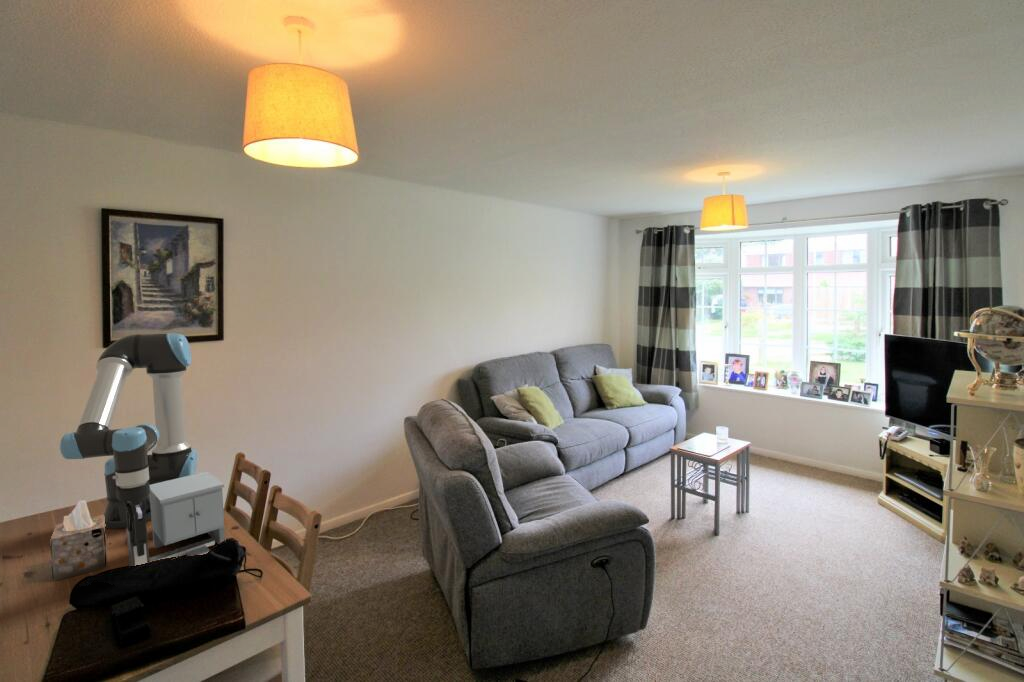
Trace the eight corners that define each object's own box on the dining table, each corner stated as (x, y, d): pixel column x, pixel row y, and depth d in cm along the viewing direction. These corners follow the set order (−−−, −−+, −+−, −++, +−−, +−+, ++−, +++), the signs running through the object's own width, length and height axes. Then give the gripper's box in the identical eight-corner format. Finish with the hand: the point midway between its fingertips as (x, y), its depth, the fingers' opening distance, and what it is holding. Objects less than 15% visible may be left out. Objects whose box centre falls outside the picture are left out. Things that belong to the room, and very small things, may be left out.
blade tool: (129, 567, 146) (126, 527, 144) (211, 540, 161) (208, 504, 160) (133, 573, 143) (129, 532, 142) (215, 544, 158) (212, 508, 157)
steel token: (186, 558, 153) (186, 551, 153) (205, 552, 157) (205, 544, 157) (192, 564, 150) (191, 557, 150) (211, 558, 154) (210, 550, 153)
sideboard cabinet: (151, 546, 160) (146, 485, 158) (211, 528, 172) (207, 471, 170) (165, 567, 148) (160, 501, 146) (228, 545, 161) (224, 484, 158)
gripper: (110, 479, 146) (117, 556, 149) (122, 496, 134) (129, 579, 137) (142, 472, 152) (148, 546, 154) (156, 488, 140) (162, 568, 142)
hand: (139, 562), depth 146 cm, fingers closed on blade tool, 4 cm apart
